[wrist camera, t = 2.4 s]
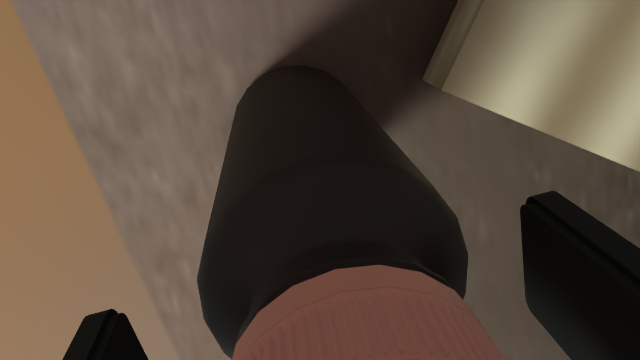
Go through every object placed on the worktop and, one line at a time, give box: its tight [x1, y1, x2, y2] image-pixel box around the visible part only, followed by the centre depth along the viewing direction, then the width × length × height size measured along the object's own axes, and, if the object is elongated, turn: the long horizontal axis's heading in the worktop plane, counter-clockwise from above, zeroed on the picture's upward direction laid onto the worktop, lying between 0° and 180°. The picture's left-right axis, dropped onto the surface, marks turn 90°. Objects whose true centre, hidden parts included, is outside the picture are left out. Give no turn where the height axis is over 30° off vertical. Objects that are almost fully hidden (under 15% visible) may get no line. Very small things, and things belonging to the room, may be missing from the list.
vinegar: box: [197, 66, 505, 360], centre depth 16 cm, size 7×7×20 cm
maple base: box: [422, 0, 640, 172], centre depth 23 cm, size 14×14×3 cm
